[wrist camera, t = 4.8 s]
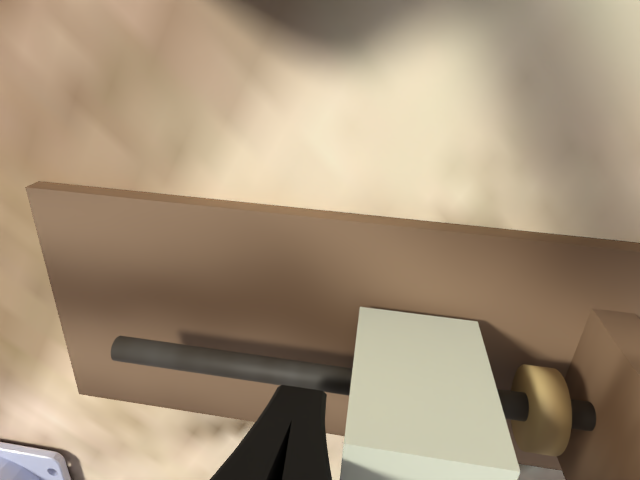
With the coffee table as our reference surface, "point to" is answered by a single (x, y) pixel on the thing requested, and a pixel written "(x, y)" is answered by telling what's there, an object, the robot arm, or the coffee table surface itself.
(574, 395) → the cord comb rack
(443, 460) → the sleeve
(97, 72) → the coffee table surface
